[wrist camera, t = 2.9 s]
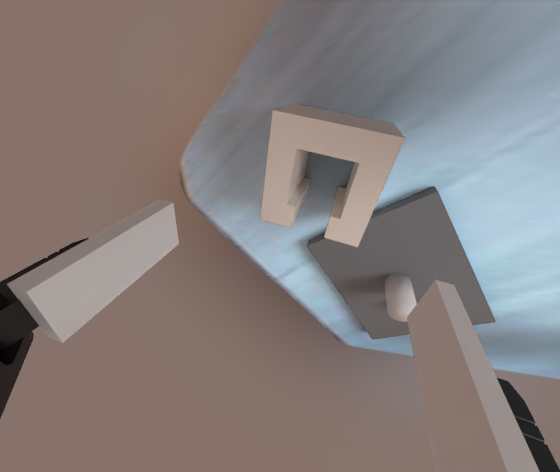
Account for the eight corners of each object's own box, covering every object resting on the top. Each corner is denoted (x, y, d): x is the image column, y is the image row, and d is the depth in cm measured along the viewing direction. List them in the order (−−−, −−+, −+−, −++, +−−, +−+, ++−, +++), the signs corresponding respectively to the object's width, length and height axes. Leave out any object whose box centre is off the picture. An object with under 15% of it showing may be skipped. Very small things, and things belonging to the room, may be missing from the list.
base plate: (308, 240, 33) (298, 269, 28) (434, 186, 25) (452, 213, 20) (372, 331, 39) (373, 369, 34) (490, 312, 31) (516, 359, 25)
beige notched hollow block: (296, 103, 25) (272, 110, 18) (393, 123, 23) (404, 137, 17) (282, 190, 30) (260, 219, 24) (359, 211, 29) (357, 247, 22)
